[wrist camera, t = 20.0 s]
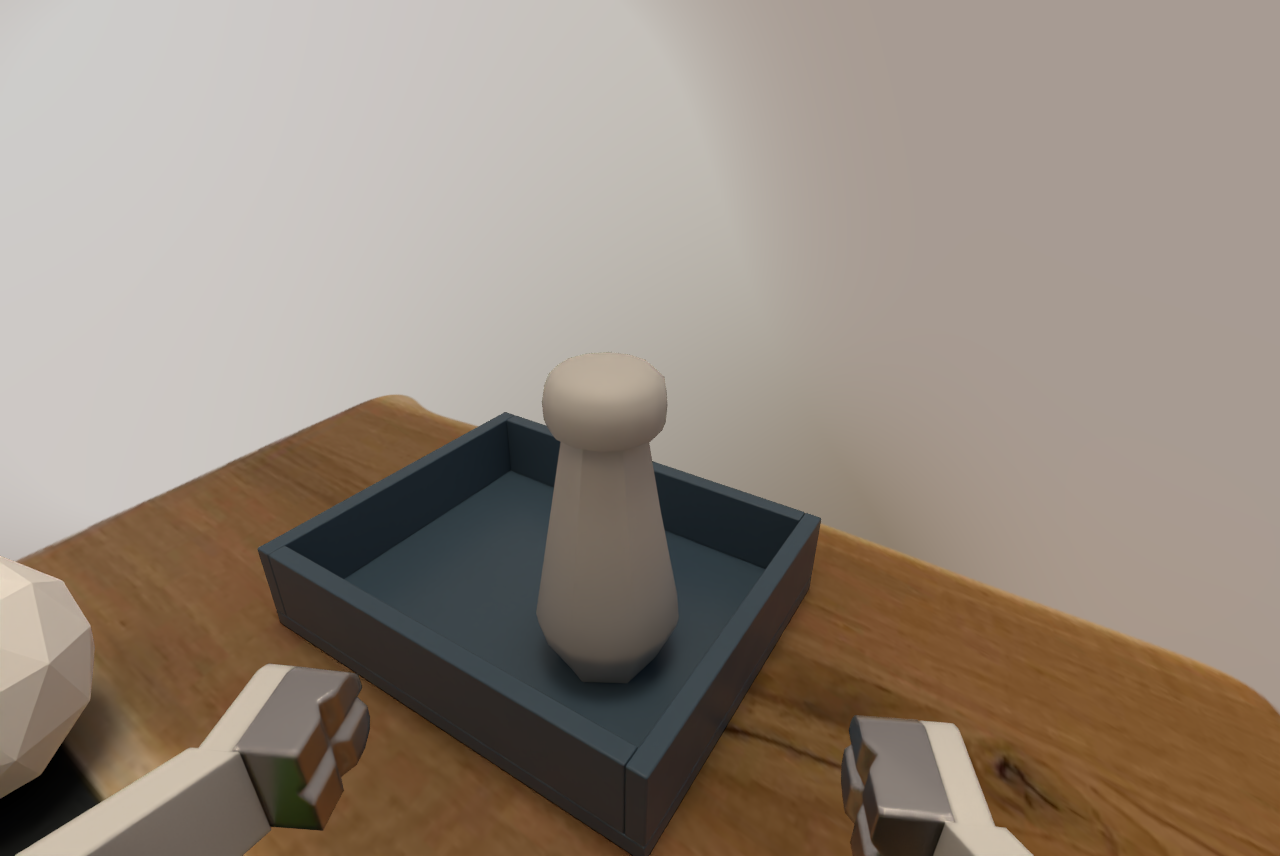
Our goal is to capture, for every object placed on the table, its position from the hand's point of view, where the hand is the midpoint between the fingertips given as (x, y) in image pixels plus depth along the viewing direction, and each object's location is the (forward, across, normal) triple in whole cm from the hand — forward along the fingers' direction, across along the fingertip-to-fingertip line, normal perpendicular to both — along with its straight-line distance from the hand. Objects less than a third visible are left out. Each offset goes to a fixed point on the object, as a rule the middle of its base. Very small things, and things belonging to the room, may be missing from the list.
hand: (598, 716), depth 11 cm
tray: (+16, +5, +13) cm, 22 cm away
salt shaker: (+13, +2, +13) cm, 18 cm away
